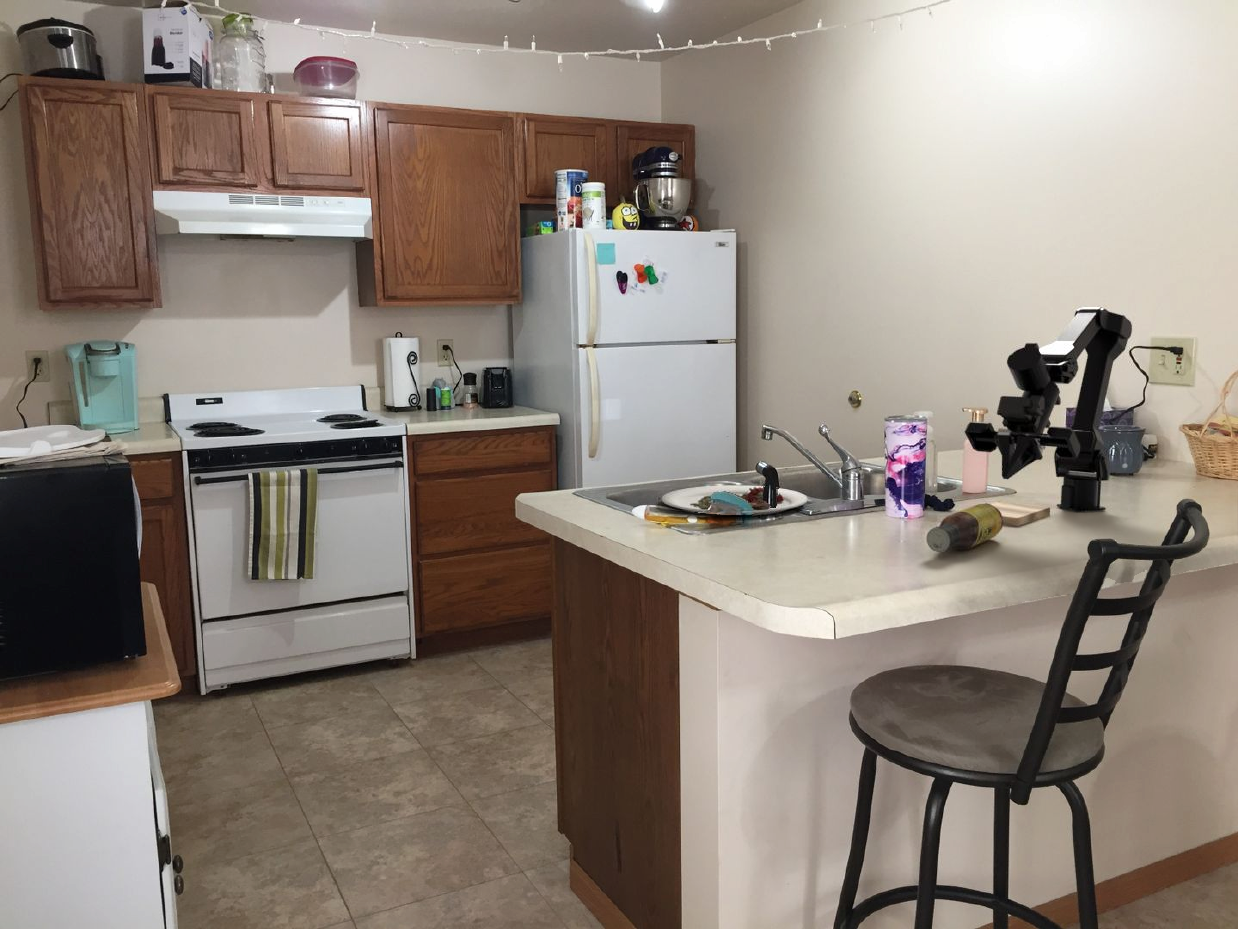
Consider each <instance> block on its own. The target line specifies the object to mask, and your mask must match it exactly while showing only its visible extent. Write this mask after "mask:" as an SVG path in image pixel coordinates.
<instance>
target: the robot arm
mask: <svg viewBox="0 0 1238 929" xmlns="http://www.w3.org/2000/svg"><path fill="white" fill-rule="evenodd" d="M1132 331H1133V324H1132V322H1131V320H1129V319H1128V318H1127V317H1126V316H1125V315H1123V314H1119V313H1116V312H1113V311H1109V310H1107V309H1106V308H1103V307H1100V306H1099V307H1081V308H1078V309H1076V310H1075V312H1074V316H1073V318H1072V320H1071V321H1070V322H1069V323H1068V324H1067V326H1066V327H1065V329H1064V330H1063V331H1062V333H1060V334H1059V336H1058V337H1057V339H1056V340H1055V342H1053V343H1051V344H1048V345H1045V346H1043V347H1041V348H1040V346H1039V344H1038V342H1026V343H1025V344H1024V347H1020V348H1019V349H1016V350H1015V351H1013V352H1012V353H1011V354H1009V355H1008V357H1007V359H1006V365H1007V367H1008V369H1009V371H1010V373H1011V376H1012V377H1013V381H1014V384H1015V385H1016V387H1017V388H1018V389H1019V390H1021V391H1023V393H1022V395H1021V396H1015V395H1014V396H1013V395H1012V396H1011V395H1009V396H1008V395H1002V396H1000V399H999V402H998V405H997V411H996V415H998V416H1000V417H1001V418H1002V419H1003V420H1002V422H1001V423H1002V425H1003V427H1004V428H1003V427H999V428H998V429H997V430H996V429H994V426H993V424H992V422H984V421H970V422H969V423H968V424H967V426H966V428H965V430H964V434H965V435H966V437H967V440H968V442H969V444H970V445H971V447H972V449H973V450H975V451H976V452H980V453H981V452H982V453H992V452H994V451H995V450H997V449H998V451H999V452H1000V454H1001V477H1002V479H1003V480H1009V479H1011V478H1012V477H1013V476H1015V475H1016V474H1017V473H1019V472H1020V471H1022V469H1025V468H1026V467H1028V466H1029V465H1030V464H1032V463H1034V462H1036V461H1041V460H1043V458H1044V457H1043V451H1044V450H1046V447H1051V448H1052V447H1055V450H1054V453H1053V454H1054V455H1053V458H1054V459H1053V461H1054V467H1055V468H1054V469H1055V476H1056V478H1063V481H1062V483H1063V484H1062V485H1061V492H1060V493H1061V494H1060V503H1057V504H1056V508H1061V509H1064V510H1065V509H1066V510H1068V511H1073V512H1076V513H1080V512H1081V513H1082V512H1083V513H1085V512H1095V511H1106V508H1107V507H1105V506H1101V491H1102V490H1101V488H1102V481H1109V480H1110V475H1111V466H1110V462H1109V461H1108V458H1107V456H1106V453H1105V448H1106V447H1105V446H1106V445H1105V443H1104V441H1103V438H1102V436H1101V434H1100V426H1101V422H1102V416H1103V413H1104V412H1103V411H1104V407H1105V403H1106V399H1107V393H1108V388H1109V384H1110V380H1111V375H1112V369H1113V365H1114V361H1116V360H1117V359H1118V358H1119V357H1120V356H1121V354H1122V353H1123V352H1125V350H1126V349H1127V348H1126V347H1127V344H1128V340H1129V339H1130V338H1131V337H1132V333H1133V332H1132ZM1084 350H1085V352H1086V354H1087V356H1086V361H1085V366H1084V371H1083V376H1082V379H1081V384H1080V385H1081V386H1080V388H1079V389H1080V390H1079V394H1078V398H1077V402H1076V407H1075V411H1074V417H1073V421H1072V425H1070V427H1064V426H1062V427H1061V426H1051V424H1052V423H1051V422H1050V421H1051V420H1050V417H1051V416H1052V413H1053V410H1054V408H1055V406H1060V405H1061V402H1062V400H1061V397H1060V393H1061V391H1060V387H1059V386H1058V384H1060V385H1069V384H1070V383H1072V381H1073V380H1074V378H1075V377H1076V376H1077V374H1078V371H1079V365H1078V364H1079V363H1078V359H1079V357H1080V356H1081V354H1082V353H1083V352H1084ZM1045 429H1047V431H1046V433H1044V432H1045Z"/></svg>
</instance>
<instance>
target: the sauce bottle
mask: <svg viewBox="0 0 1238 929" xmlns="http://www.w3.org/2000/svg"><path fill="white" fill-rule="evenodd" d="M990 504H991V503H979V504H975V505H973V506H969V507H967V508H964V509H962V510H959V511H957V512H954V513H952V514H949V515H948V516H946V517H945V518H943V519H942V520H941V522H940V524H939V526H935V527H933V528H931V529H930V530H929V531H928V532H927V534H926V544H927V546H928V548H930V550H931V551H933V552H936V553H943V552H948V551H949V550H950V549H955V550H957V551H958V550H959V551H966V550H969V549H971V548H973V547H976V546H977V545H980V544H982V543H985V542H987V541H988V540H991V539H993V538H994V537H996V536H998V534H999V533H1000V532H1001V530H1002V529H1003V526H1004V524H1003V517H1002V514H1001V512H1000V511H999V510H998V509H997V508H996V507H994V506H993V505H990Z"/></svg>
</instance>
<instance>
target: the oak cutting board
mask: <svg viewBox="0 0 1238 929" xmlns="http://www.w3.org/2000/svg"><path fill="white" fill-rule="evenodd" d="M989 504H990V505H993V506H994V507H996V508H997V509H998V510H999V511H1000V512H1001V514H1002V517H1003V526H1004V525H1005V526H1012V527H1019V526H1022V525H1025V524H1028V523H1031V522H1034V521H1037V520H1039V519H1043V518H1045V517H1048V516H1051V507H1050V506H1043V505H1035V504H1025V503H1016V502H1010V501H1003V500H1001V501H996V502H992V503H989Z"/></svg>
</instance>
